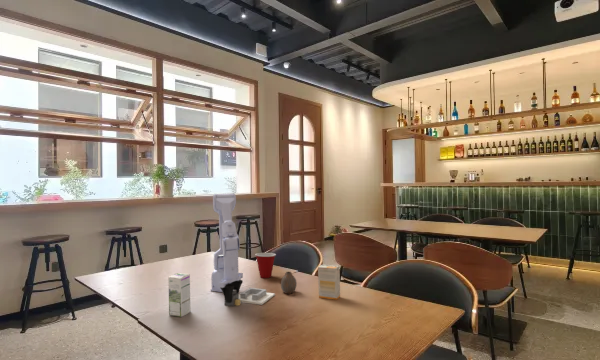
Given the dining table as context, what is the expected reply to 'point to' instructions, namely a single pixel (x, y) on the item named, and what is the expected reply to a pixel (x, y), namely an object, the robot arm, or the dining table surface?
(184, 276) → the syrup box
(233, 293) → the knob
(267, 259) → the plastic cup
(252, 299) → the hub panel
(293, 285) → the vase
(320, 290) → the supplement box
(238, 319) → the dining table surface
